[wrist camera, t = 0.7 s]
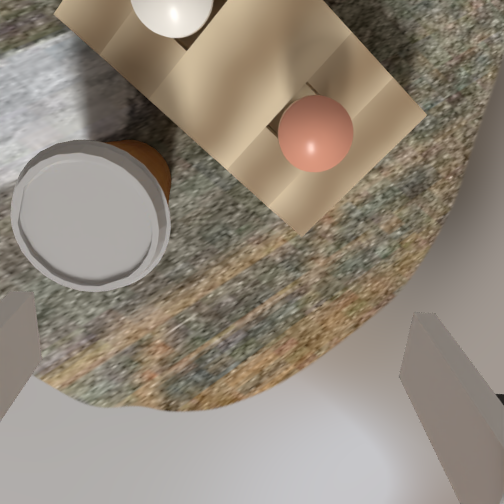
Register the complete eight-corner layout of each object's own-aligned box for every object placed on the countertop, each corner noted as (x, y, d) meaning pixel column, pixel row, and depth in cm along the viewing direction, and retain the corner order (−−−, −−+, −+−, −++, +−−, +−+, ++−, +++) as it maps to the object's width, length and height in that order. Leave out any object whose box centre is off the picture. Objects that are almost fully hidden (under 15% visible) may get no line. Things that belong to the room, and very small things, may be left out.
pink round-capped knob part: (261, 126, 32) (263, 137, 28) (306, 76, 31) (316, 79, 26) (306, 169, 33) (315, 186, 29) (352, 123, 32) (368, 133, 28)
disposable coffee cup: (131, 92, 36) (78, 106, 25) (214, 185, 39) (200, 235, 27) (49, 171, 38) (-33, 217, 27) (133, 254, 41) (90, 326, 30)
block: (80, 20, 34) (53, 14, 29) (186, -130, 31) (174, -164, 26) (295, 216, 40) (301, 237, 35) (404, 108, 36) (427, 115, 32)
